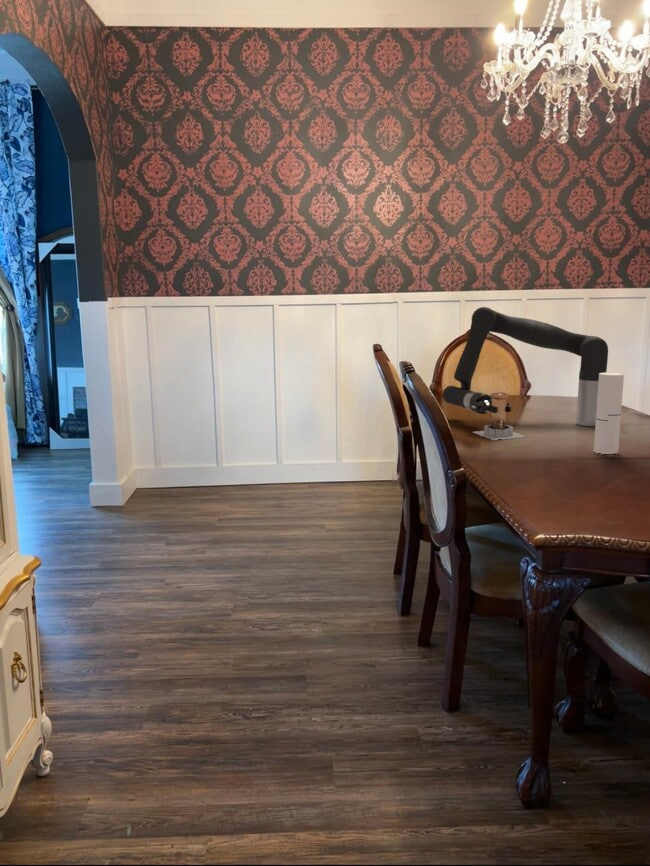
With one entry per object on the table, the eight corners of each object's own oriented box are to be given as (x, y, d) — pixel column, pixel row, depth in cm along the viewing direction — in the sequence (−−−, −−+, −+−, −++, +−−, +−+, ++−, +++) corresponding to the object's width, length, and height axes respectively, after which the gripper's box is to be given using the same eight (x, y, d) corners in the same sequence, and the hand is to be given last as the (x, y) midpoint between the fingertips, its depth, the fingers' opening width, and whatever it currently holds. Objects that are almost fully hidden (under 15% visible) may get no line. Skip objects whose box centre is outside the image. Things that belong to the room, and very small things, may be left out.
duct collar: (503, 430, 255) (504, 422, 255) (524, 437, 243) (525, 429, 243) (472, 433, 251) (473, 425, 251) (492, 440, 239) (492, 431, 239)
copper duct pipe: (500, 424, 250) (502, 392, 248) (509, 428, 245) (511, 394, 242) (486, 426, 248) (488, 392, 246) (495, 429, 243) (496, 395, 241)
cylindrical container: (620, 455, 216) (626, 375, 211) (595, 454, 217) (601, 375, 212) (615, 450, 223) (621, 372, 218) (591, 449, 224) (597, 372, 219)
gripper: (461, 393, 256) (485, 400, 240) (495, 391, 260) (521, 398, 244) (460, 413, 257) (484, 421, 241) (494, 411, 262) (520, 419, 246)
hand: (503, 409), depth 243 cm, fingers closed on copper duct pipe, 5 cm apart
